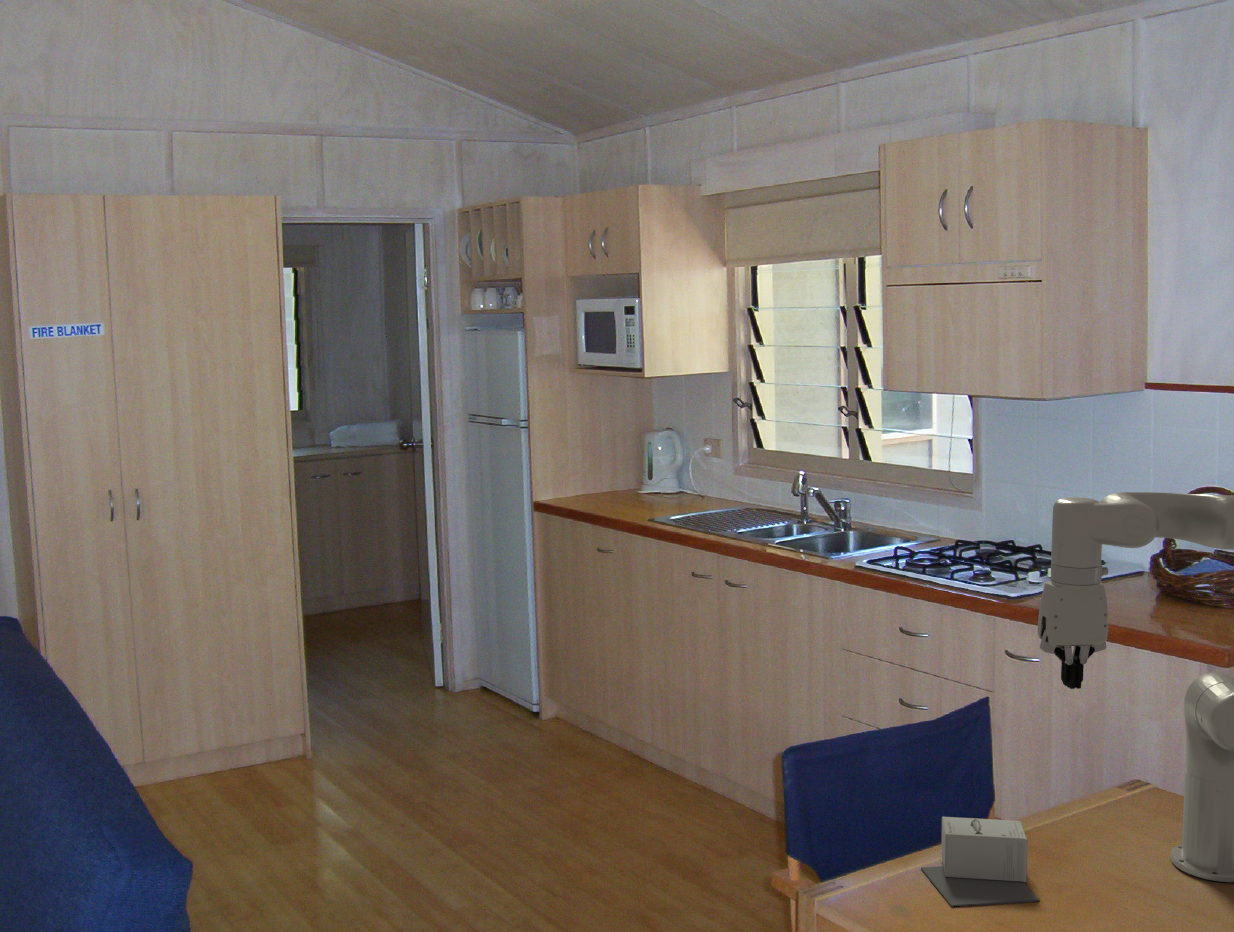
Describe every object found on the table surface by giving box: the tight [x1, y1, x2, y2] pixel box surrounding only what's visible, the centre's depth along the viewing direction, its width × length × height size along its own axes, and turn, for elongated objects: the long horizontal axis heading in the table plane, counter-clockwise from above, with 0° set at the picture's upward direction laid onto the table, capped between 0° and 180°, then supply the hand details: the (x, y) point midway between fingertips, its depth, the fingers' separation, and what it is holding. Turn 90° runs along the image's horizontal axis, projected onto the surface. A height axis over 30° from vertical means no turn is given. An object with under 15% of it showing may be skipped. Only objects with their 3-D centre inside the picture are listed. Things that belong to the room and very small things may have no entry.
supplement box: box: [941, 816, 1029, 883], centre depth 197 cm, size 7×7×13 cm
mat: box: [920, 865, 1041, 908], centre depth 194 cm, size 14×13×1 cm
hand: (1071, 686), depth 199 cm, fingers closed
